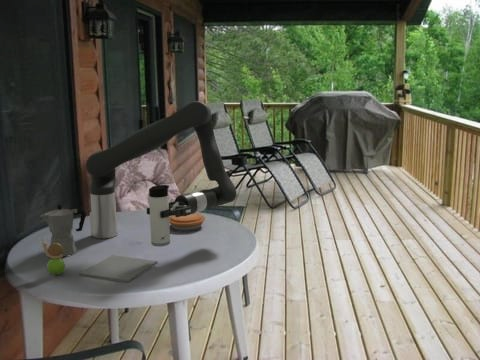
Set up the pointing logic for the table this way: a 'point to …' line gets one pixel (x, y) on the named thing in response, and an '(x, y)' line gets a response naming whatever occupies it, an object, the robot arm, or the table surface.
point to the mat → (119, 268)
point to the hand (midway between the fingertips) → (154, 213)
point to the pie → (187, 222)
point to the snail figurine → (54, 257)
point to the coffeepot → (64, 227)
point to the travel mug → (159, 225)
